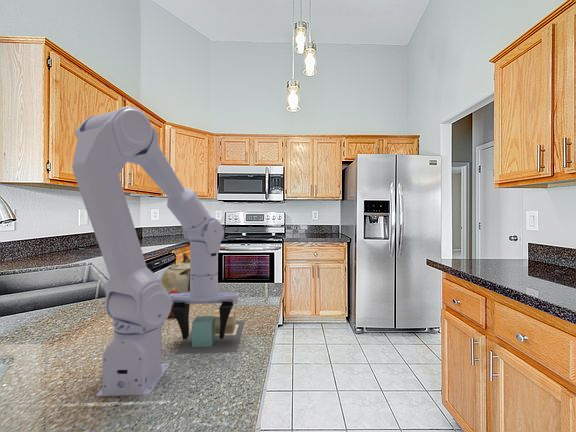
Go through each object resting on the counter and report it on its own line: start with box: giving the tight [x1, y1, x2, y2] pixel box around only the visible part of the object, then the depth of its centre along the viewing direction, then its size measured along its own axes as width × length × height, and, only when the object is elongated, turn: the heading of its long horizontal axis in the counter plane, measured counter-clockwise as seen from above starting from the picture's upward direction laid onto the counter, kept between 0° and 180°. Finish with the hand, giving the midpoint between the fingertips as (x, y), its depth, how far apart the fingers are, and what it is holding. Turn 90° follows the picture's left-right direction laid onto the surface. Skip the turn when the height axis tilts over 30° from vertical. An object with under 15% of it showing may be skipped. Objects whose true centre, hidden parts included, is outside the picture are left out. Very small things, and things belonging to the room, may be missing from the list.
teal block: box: [191, 315, 215, 347], centre depth 64 cm, size 4×4×5 cm
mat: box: [174, 320, 246, 355], centre depth 68 cm, size 18×12×1 cm, turn 3°
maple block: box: [210, 309, 236, 334], centre depth 71 cm, size 5×5×4 cm
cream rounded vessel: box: [161, 252, 190, 293], centre depth 102 cm, size 20×15×15 cm
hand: (204, 337), depth 64 cm, fingers open, 7 cm apart
